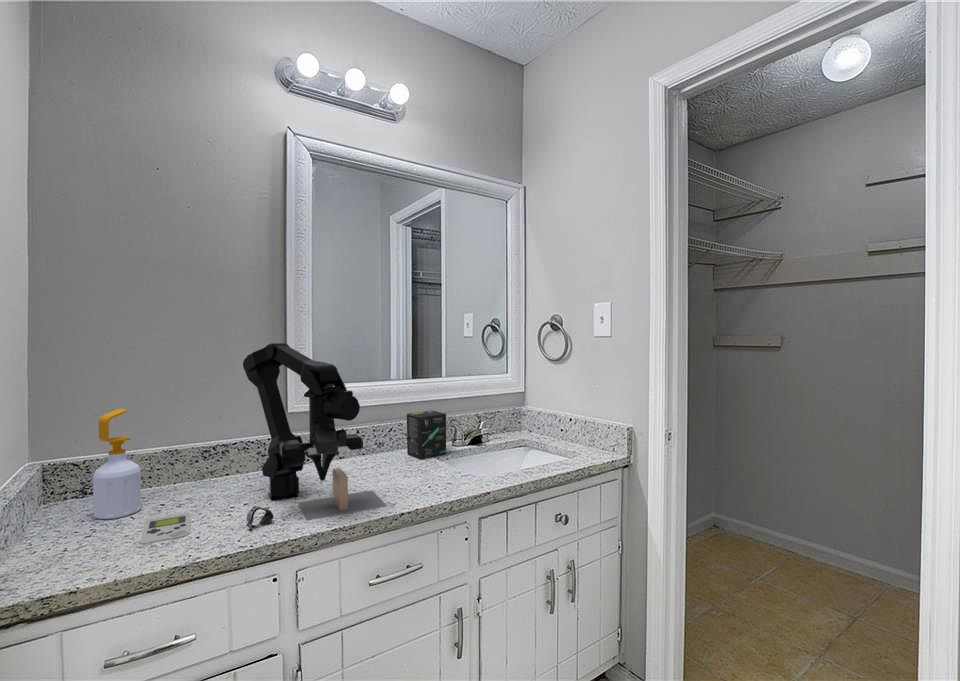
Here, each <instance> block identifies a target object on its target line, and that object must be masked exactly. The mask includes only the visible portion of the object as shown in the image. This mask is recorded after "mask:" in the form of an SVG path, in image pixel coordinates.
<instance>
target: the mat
mask: <svg viewBox="0 0 960 681" xmlns="http://www.w3.org/2000/svg"><path fill="white" fill-rule="evenodd" d="M297 504H298V507H299V508H300V510H301V513H302V514H303V516H304V520H305V521H310V520H311V521H312V520H316V519H322V518H329V517H333V516H339V515H345V514H350V513H356V512H362V511H367V510H368V511H369V510H372V509H379V508H384V507H387V506H388V505H387V503H386V502H384V501H383V500H382V499H381V498H380V497H379V495H377V494H376V493H375V491H373V490H368V491H361V492H355V493H349V494H348V509H345V510H339V508H338V507H337V505H336V504H335V503H334V501H333V496H331V497H330V496H329V497H324V498H317V499H310V500H305V501H299V502H297Z"/></svg>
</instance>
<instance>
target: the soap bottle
mask: <svg viewBox="0 0 960 681" xmlns="http://www.w3.org/2000/svg"><path fill="white" fill-rule="evenodd" d="M126 413H128V410H127V409H124V408H118V409H115V410H113V411H110V412H108V413H105V414H103V415H101V416H100V417H99V419H98V438H99V440H100V441H102V442H105V443H106V442H107V443H109V445H110V446H112V450H109V451H108V453H107V455H108V457H107V458H108V461H107V462H105V463H104V464H102V465H100V466H99V467H98V468H97V469H95V471H94V473H93V475H92V487H93V490H92V491H93V492H92V493H93V494H92V496H93V497H92V498H93V499H92V500H93V503H92V504H93V517H94V518H95V519H99V520H112V519H118V518H124V517H127V516H130V515H133V514H135V513H137V512H139V510H141V508H142V486H141V485H142V483H141V482H142V477H141V476H142V472H141V470H142V469H141V467H140V465H139V464H137V463H136V462H134V461H133V460H129V459H127V457H126V456H127V452H126V449H124V448H122V445H124V444H125V441H129V440H131V438H132V437H130V436H126V435H121V436H115V437H109V436H110V435H109V434H110V433H109V432H110V429H109V428H110V427H109V426H110V425H109V424H110V420H112V419H113V418H116V417H118V416H121V415H123V414H126Z"/></svg>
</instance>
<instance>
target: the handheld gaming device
mask: <svg viewBox="0 0 960 681" xmlns="http://www.w3.org/2000/svg"><path fill="white" fill-rule="evenodd" d="M144 521H145V522H144V525H143V529H142V533H141V537H140V541H139V545H147V544H153V543H159V542H163V541H165V542H166V541H168V540H169V541H170V540H175V539H180V538H184V537H187V536H189V535H190V534H191V512H183V513H177V514H170V515H165V516H158V517H153V518H148V519H146V520H144Z"/></svg>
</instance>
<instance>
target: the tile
mask: <svg viewBox="0 0 960 681" xmlns="http://www.w3.org/2000/svg"><path fill="white" fill-rule="evenodd" d="M348 481H349V477H348V475H347V474H346V473H345V472H344V471H343V470H342V469H341V467H338V468H337V467H335V468H332V497H333V501H334V503H335V504H336V505H337V507H338V508H339V510H345V509H348V493H349V488H348V487H349V486H348V484H349V482H348Z"/></svg>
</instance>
